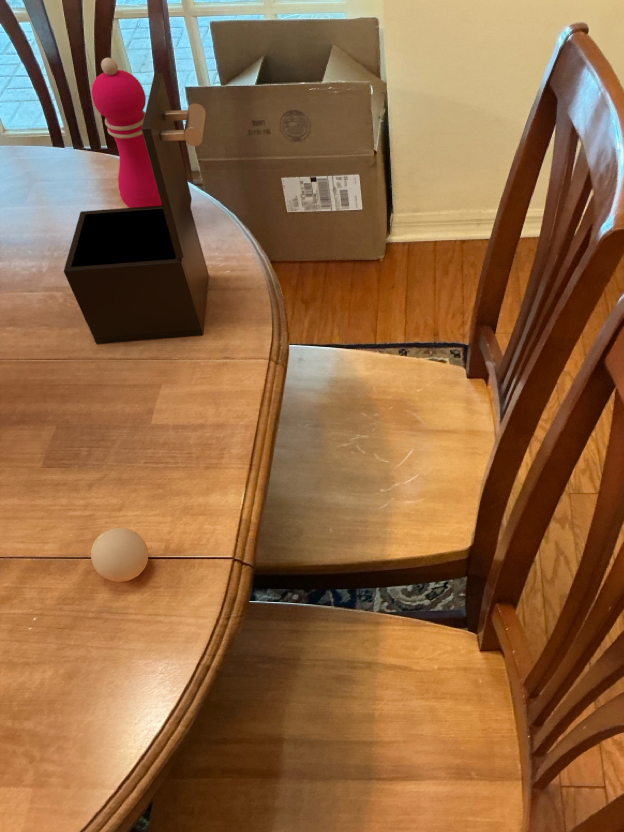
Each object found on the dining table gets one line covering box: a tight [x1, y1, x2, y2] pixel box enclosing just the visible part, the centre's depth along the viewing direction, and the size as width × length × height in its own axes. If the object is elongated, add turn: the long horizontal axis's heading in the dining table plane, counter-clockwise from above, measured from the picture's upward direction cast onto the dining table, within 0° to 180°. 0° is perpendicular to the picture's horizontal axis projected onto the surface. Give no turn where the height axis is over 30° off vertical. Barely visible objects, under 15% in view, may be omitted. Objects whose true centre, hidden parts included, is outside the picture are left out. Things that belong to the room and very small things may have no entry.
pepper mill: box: [91, 57, 162, 208], centre depth 95 cm, size 7×7×20 cm
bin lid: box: [142, 72, 207, 258], centre depth 79 cm, size 13×11×5 cm
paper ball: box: [90, 527, 149, 583], centre depth 68 cm, size 5×5×5 cm
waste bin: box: [63, 205, 210, 345], centre depth 88 cm, size 12×11×10 cm
